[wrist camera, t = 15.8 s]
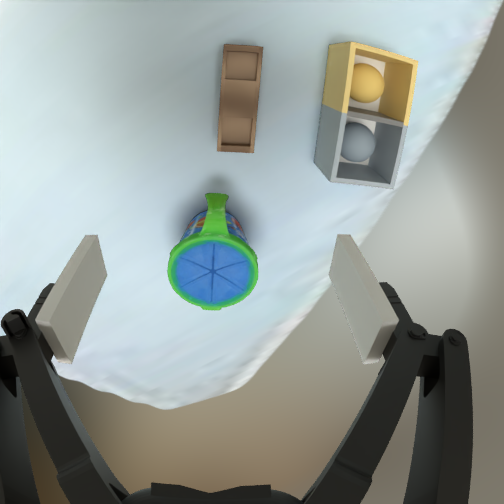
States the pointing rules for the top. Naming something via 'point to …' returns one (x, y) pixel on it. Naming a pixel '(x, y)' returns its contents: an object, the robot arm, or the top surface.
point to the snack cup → (213, 259)
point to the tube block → (365, 115)
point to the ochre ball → (366, 83)
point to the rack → (239, 98)
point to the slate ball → (357, 142)
